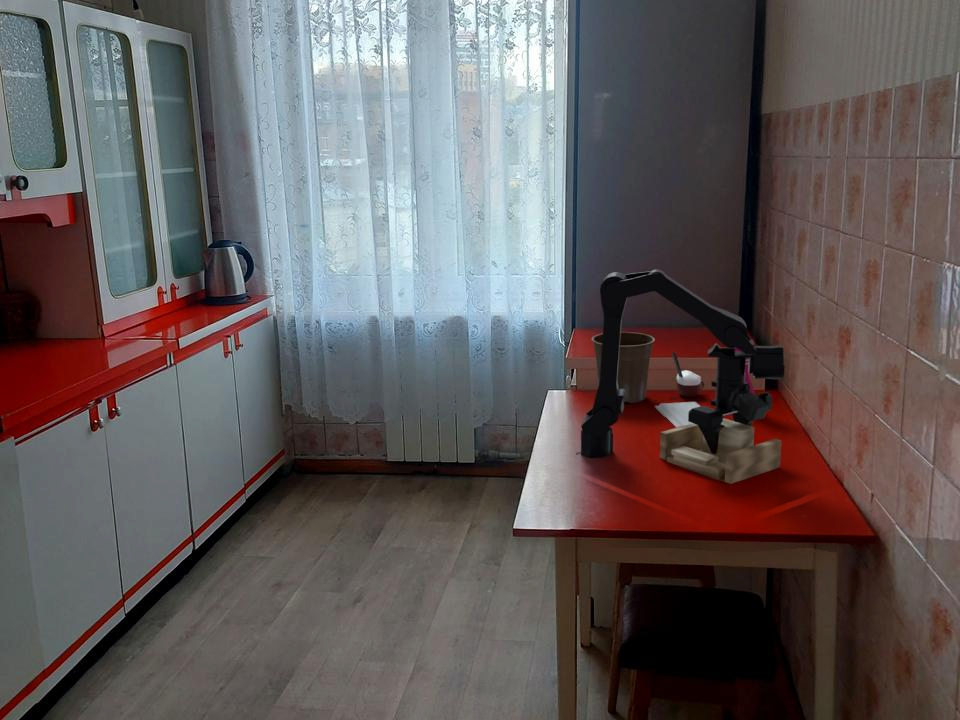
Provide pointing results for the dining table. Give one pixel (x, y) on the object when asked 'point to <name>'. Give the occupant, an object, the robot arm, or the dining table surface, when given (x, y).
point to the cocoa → (687, 381)
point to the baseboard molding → (676, 411)
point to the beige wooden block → (731, 439)
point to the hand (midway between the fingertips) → (727, 449)
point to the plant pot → (630, 363)
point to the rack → (737, 462)
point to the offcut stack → (698, 462)
